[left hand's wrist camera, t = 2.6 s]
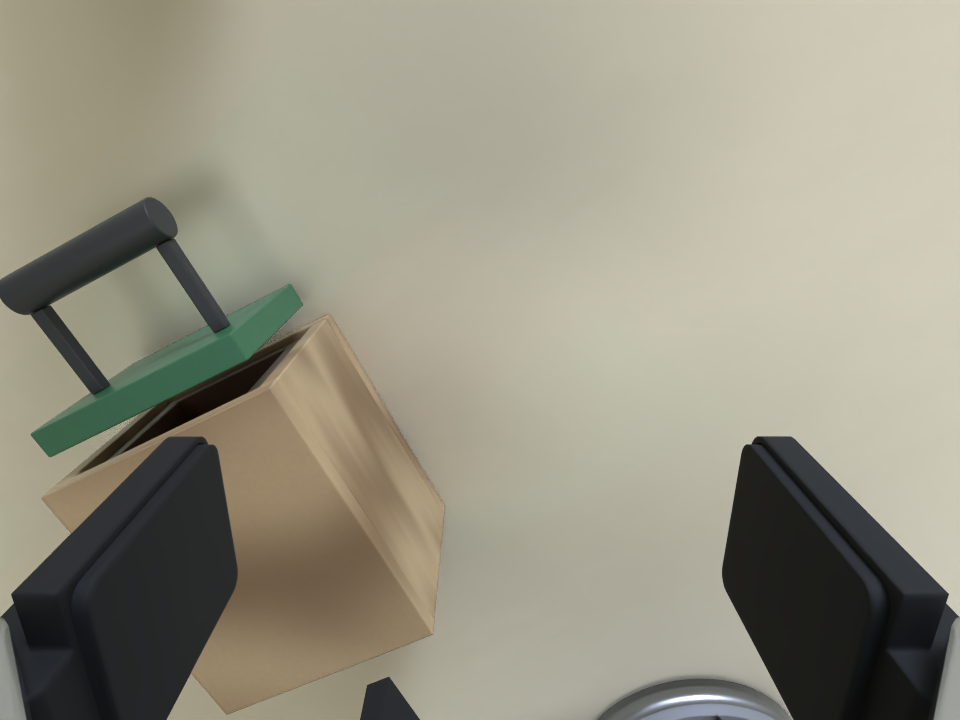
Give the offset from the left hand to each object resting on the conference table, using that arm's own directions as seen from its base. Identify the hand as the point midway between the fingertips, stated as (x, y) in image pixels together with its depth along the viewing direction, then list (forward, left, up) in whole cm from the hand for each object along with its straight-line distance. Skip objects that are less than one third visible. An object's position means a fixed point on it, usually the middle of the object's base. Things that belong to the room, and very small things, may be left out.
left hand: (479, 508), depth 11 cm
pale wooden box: (-2, -14, -22) cm, 26 cm away
